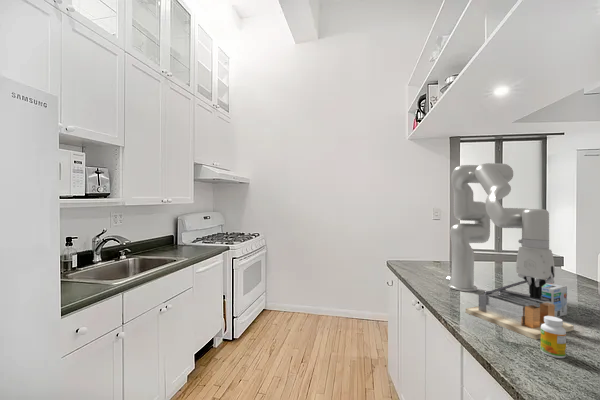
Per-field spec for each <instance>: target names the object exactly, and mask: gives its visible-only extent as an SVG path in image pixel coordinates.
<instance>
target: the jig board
mask: <svg viewBox="0 0 600 400" xmlns="http://www.w3.org/2000/svg"><path fill="white" fill-rule="evenodd" d="M465 313H466V314H469V315H471V316H474V317H477V318H479V319H482V320H483V321H486V322H490V323H491V324H494V325H496V326H499V327H502V328H505V329H507V330H510V331H512V332H515V333H517V334H520V335H523V336H526V337H527V338H530V339H532V340H541V325H542V324H543V323H540V327H537V328H530V327H527V326H525V325H523V326H521V325H518V324H515V323H512V322H510V321H507V320H504V319H501V318H499V317H496V316H493V315H490V314H488V313H485V312H482V311H479V305H477V306H473V307H472V306H471V307H466V308H465ZM562 327H563V328H564V329H565V330H566V333H567V332H571V331H574V329H575V326H574V325H573V324H570V323H567V322H564V321H563V326H562Z"/></svg>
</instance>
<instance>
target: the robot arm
mask: <svg viewBox="0 0 600 400" xmlns="http://www.w3.org/2000/svg"><path fill="white" fill-rule="evenodd" d="M450 176H451V177H450V181H451V186H452V190H453V215H454V219H456V220H458V221H464V222H463V223H461V222H460V223H456V224H453V225H452V226H451V227H450V230H449V236H450V237H449V238H450V241H451V242H450V243H451V275H447V277H446V278H445V280H446V281H448V282H449V283H448V284H447V286H448V288H450V289H452V290H455V291H459V292H468V293H469V292H473V293H474V292H476V291H478V286H476V285H474V284H475V283H474V281H475V253H474V249H473V248H472V247H471V245H470V244H484V243H487V242H488V241H489V239H490V236H491V222H492V223H493V224H494V225H495V226H496V227H499V228H501V229H521V239H518V244H521V246H519V247H518V251H517V254H516V255H517V256H516V264H515V266H516V267H515V272H516V274H517V276H518V277H519V278H521V279H523V280H524V281H526V280H528V282H527V283H526V284H527V285H528V292H529V295H530V297H534V298H540V297H541V295H542V286H544V285H545V284H550V283H553V284H555V280H554V278H555V276H556V275H555V274H556V272H555V271H556V270H555V269H556V268H555V260H554V255H553V251H552V249H550V212H549V211H548V210H547V209H543V208H526V207H525V208H523V207H522V208H520V207H519V208H518V207H503V206H502V204H501V203H500V201H499V200H501V199H504V198H506V197H507V196H508V195H509V194H510V193H511V190H512V186H511V184H510V183H509V182H510V181H512V179H513V178H514V170H513V168H512V167H511V166H510V165H509V164H508V163H507V164H506V163H494V162H493V163H492V162H491V163H490V162H488V163H481V164H477V165H476V164H461V165H458V166H456V167H455V168H454V169H453V171H452V172H451V175H450ZM469 184H480V186H481V187H482V188H483V190H484V192H485V193H486V195H487V197H486V200H485V202H483V201H475V200H474V190H473V189H472V187H471V186H470V185H469ZM465 221H466V222H467V221H468V223H465ZM470 221H471V222H472V221H473V222H474V223H470Z"/></svg>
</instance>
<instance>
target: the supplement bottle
mask: <svg viewBox="0 0 600 400" xmlns="http://www.w3.org/2000/svg"><path fill="white" fill-rule="evenodd" d="M544 322H545V323H544V324H542V325H541V339H540V348H539V349H540V351H541V352H542V354H545V355H547V356H549V357H552V358H557V359H564V358H566V355H567V332H566V330H565V329H564V328H563V327H562V326H563V322H564V320H563V319H562V318H560V317H553V316H544Z"/></svg>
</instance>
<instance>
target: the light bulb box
mask: <svg viewBox="0 0 600 400" xmlns="http://www.w3.org/2000/svg"><path fill="white" fill-rule="evenodd" d="M541 298H546V299H549V301H547V302H545V303H550V304H554V305H555V317H557V318H560V317H562V316H567V315H568V286H567V285H562V284H558V283H550V284H545V285H544V286H542V295H541ZM534 300H535V299H534ZM538 301H539V300H538ZM542 302H544V301H542Z"/></svg>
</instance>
